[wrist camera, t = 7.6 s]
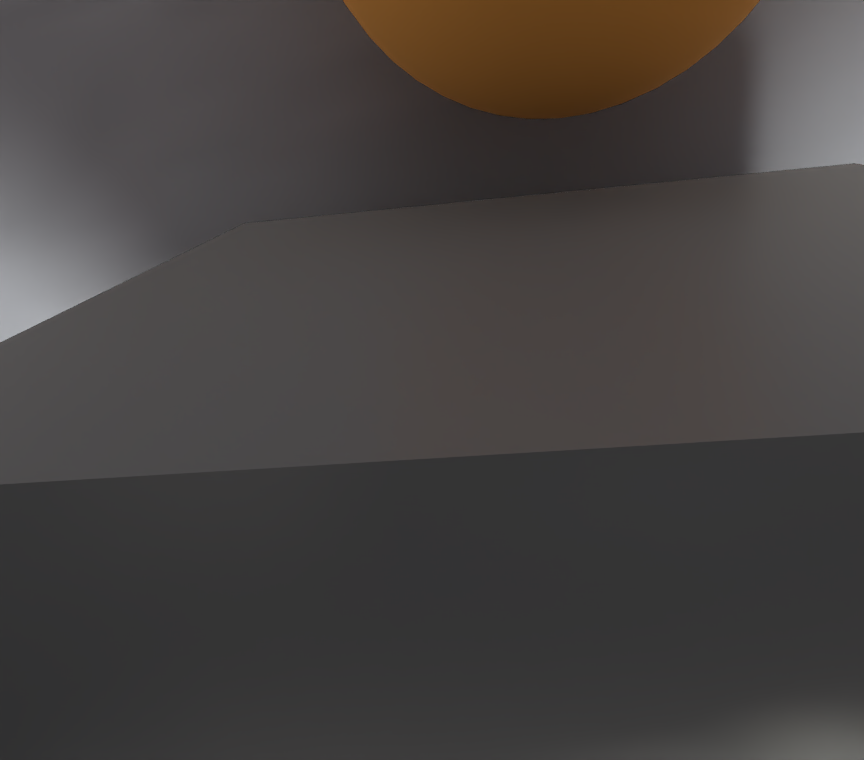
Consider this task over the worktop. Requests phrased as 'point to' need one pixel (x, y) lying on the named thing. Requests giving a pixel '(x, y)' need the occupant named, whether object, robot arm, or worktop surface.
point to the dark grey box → (452, 487)
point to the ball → (546, 48)
